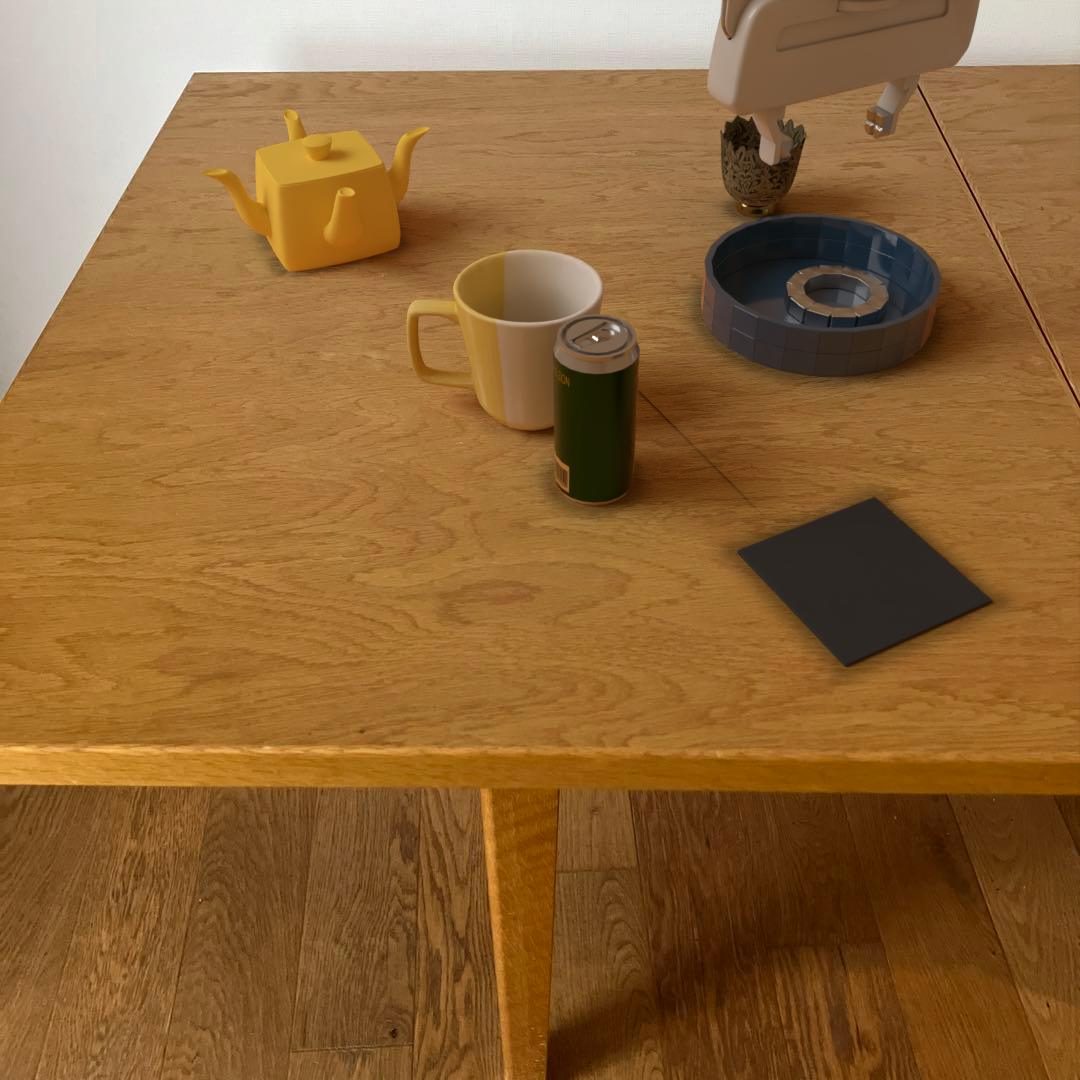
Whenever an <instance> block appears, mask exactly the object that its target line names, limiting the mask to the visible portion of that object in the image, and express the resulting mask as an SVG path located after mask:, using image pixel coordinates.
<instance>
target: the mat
mask: <svg viewBox="0 0 1080 1080" xmlns="http://www.w3.org/2000/svg"><path fill="white" fill-rule="evenodd" d="M736 553H737V555H739V557H740V558H741V559H742V560H743V561H744V562H745V563H746V564H747V565H748V566H749V567H750V569H752V571H753V572H755V574H756V575H757V576H758V577H759V578H760V579H761V580H762V581H763V582H764V583H765V585H767V586H768V587H769V588H770V589H771V590H772V591H773V593H774V594H775V595H776V596H777V597H778V598H779V599H780V600H781V601H782V602H783V603H784V604H785V605H786V606H787V608H788V609H789V610H791V612H792V613H793V614H794V615H795V616H796V617H797V618H798V619H799V620H800V621H801V622H802V623H803V624H804V625H805V626H806V627H807V628H808V630H809V631H810V632H811V633H812V634H813V635H814V636H815V637H816V638H817V639H818V640H819V641H820V642H821V643H822V644H823V645H824V646H825V648H826V649H827V650H828V651H829V652H830V653H831V654H832V655H833V656H834V657H835V658H836V659H837V660H838V662H839V663H840V664H842V665H843V667H844V668H847V667H850V666H852V665H854V664H857V663H859V662H861V661H863V660H865V659H868V658H870V657H872V656H875V655H877V654H880V653H881V652H884V651H886V650H889V649H890V648H893V647H895V646H897V645H899V644H902V643H904V642H906V641H909V640H911V639H912V638H915V637H918V636H920V635H923V634H924V633H927V632H928V631H931V630H933V629H935V628H938V627H941V626H942V625H945V624H948V623H949V622H951V621H953V620H954V621H955V620H956V619H958V618H960V617H963V616H965V615H967V614H970V613H972V612H974V611H976V610H979V609H981V608H983V607H985V606H988V605H990V604H991V603H992V601H993V600H992V599H991V598H990V597H989V596H988V595H987V594H985V593H984V591H982V590H981V589H980V588H979V587H978V586H977V585H976V584H974V583H973V582H972V581H971V580H970V579H969V578H967V577H966V576H965V575H964V574H963V573H962V572H961V571H959V570H958V569H957V568H956V567H955V566H953V564H951V562H949V561H948V560H947V559H946V558H945V557H944V556H943V555H941V553H939V552H938V551H937V550H935V548H934V547H932V546H931V545H930V544H929V543H928V542H926V541H925V539H924V538H922V537H921V536H920V535H919V534H918V533H916V532H915V531H914V530H913V529H912V528H911V527H910V526H909V525H907V523H905V522H904V521H903V520H902V519H901V518H899V517H898V516H897V515H896V514H895V513H894V512H893V511H892V510H891V509H889V508H888V507H887V506H886V505H885V504H884V503H882V501H880V500H879V499H878V498H877V497H874V496H873V497H871V498H868V499H866V500H864V501H861V502H858V503H855V504H853V505H851V506H847V507H845V508H843V509H840V510H838V511H835V512H833V513H830V514H827V515H824V516H822V517H819V518H817V519H814V520H812V521H809V522H807V523H804V524H800V525H799V526H796V527H794V528H791V529H788V530H786V531H783V532H780V533H778V534H776V535H773V536H770V537H768V538H765V539H762V540H760V541H757V542H755V543H753V544H750V545H747V546H744V547H742V548H738V549H737V551H736Z"/></svg>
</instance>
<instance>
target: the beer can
mask: <svg viewBox="0 0 1080 1080" xmlns="http://www.w3.org/2000/svg"><path fill="white" fill-rule="evenodd" d="M637 339H638V336H637V332H636V329H635V327H633V326H632V324H630V323H629V322H628V321H626V320H624V319H622V318H621V317H617V316H613V315H610V314H602V313H600V314H592V315H583V316H579V317H576V318H573V319H571V320H569V321H567V322H565V323H564V324H563V325H562V326H561V327H560V328H559V330H558V333H557V340H556V342H555V345H554V349H553V378H554V426H553V446H554V447H553V461H554V463H553V464H554V466H553V469H554V475H553V476H554V481H555V485H556V487H557V488H558V490H559V491H560V493H561V494H562V495H563V496H564V497H565V498H567V499H568V500H570V501H572V502H575V503H578V504H580V505H586V506H594V507H595V506H605V505H608V504H611V503H614V502H617V501H619V500H621V499H622V498H623V497H625V496H626V495H627V493H628V492H629V490H630V489H631V487H632V486H633V482H634V478H635V463H636V462H635V459H636V442H637V441H636V439H637V418H638V417H637V416H638V398H639V396H638V395H639V379H640V377H639V375H640V358H641V357H640V355H641V348H640V345H639V343H638V340H637Z"/></svg>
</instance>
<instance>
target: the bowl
mask: <svg viewBox="0 0 1080 1080" xmlns="http://www.w3.org/2000/svg"><path fill="white" fill-rule="evenodd" d="M820 265H842V267H843V268H844V267H845V266H848V267H851V268H855V269H859V270H862V271H866V274H867V273H870V274H872V275H873V276H875V277H876V278H878V279H879V280H880V281H882V282H883V283H884V285H886V288H887V291H888V295H889V301H888V306H887V311H886V314H885V315H884V316H883V318H882V319H881V320H880V321H879V323H878V324H876V325H869V326H861V327H854V328H823V327H815V326H808V325H805V322H803V323H801V322H800V321H799V320H797V319H796V318H795V317H794V316H792V315H791V314H790V313H788V311H787V310H786V305H785V300H784V295H785V288H786V284H787V281H788V280H789V279H790V278H791V277H792V276H793V275H794V274H795V273H796V272H797V273H798V271H800V270H803V269H806V268H810V267H813V266H818V267H819V266H820ZM942 282H943V275H942V274H941V271H940V269H939V267H938V264H937V262H936V260H934V258H933V257H932V256H931V255H930V254H929V253H928V252H927V251H926V250H925V249H924V247H922V246H921V245H920V244H918V243H917V242H915V241H913V240H912V239H910V238H909V237H907V236H906V235H904V234H902V233H900V232H898V231H895V230H892V229H890V228H888V227H885V226H882V225H880V224H876V223H874V222H869V221H866V220H861V219H857V218H853V217H849V216H842V215H841V216H840V215H833V214H827V213H788V214H780V215H770V216H766V217H760V218H758V219H754V220H751V221H747V222H744V223H741V224H739V225H738V226H735V227H734V228H732V229H729V230H728V231H726V232H724V233H722V234H721V235H720V236H719V237H718V238H717V239H716V240H715V241H714V242H713V243H712V244H710V246H709V249H708V251H707V253H706V256H705V257H704V260H703V271H702V283H701V295H700V310H701V317H702V320H703V322H704V323H705V325H706V328H707V329H708V331H710V334H711V335H713V336H714V337H715V338H716V340H718V341H719V342H720V343H721V344H722V345H724V346H725V347H726V348H727V349H729V350H730V351H731V352H734V353H735V354H737V355H738V356H740V357H743V358H745V359H746V360H749V361H751V362H753V363H756V364H759V365H762V366H763V367H767V368H770V369H773V370H774V369H775V370H778V371H781V372H787V373H792V374H796V375H804V376H812V377H829V378H831V377H834V378H835V377H852V376H860V375H866V374H871V373H877V372H879V371H883V370H887V369H889V368H892V367H895V366H897V365H899V364H902V363H903V362H906V361H907V360H909V359H910V358H912V357H913V356H914V355H915V354H917V353H918V352H919V351H921V349H922V348H923V347H924V346H925V344H926V342H927V341H928V339H929V338H930V336H931V334H932V328H933V325H934V319H935V317H936V313H937V307H938V303H939V299H940V295H941V290H942ZM806 295H807V296H808V297H809V298H811V299H812V300H813V301H815V302H816V303H819V304H823V305H826V306H830V307H833V308H851V307H854V306H858V305H861V304H864V303H866V300H864V299H863V298H862V297H860V296H859V295H857V294H856V293H854V292H851V291H847V290H844V289H840V288H821V289H817V290H814V291H811V292H808V293H807V294H806Z"/></svg>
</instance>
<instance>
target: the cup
mask: <svg viewBox="0 0 1080 1080" xmlns="http://www.w3.org/2000/svg"><path fill="white" fill-rule="evenodd" d="M777 123H778V126H779V129H780V132H782V133H784V135H786V136H788V137H790V138H791V139H793V142H792V149H791V150H790V154H791V156H790V159H789V161H786V162H783V163H779V164H775V165H768V164H767V163H765V162H764V161H762V160H761V158H760V155H759V150H760V141H761V134H760V133H759V131H758V129H757V127H756V124H755V122H754V120H753V118H752V116H751V115H750V117H749V120H747V119H746V118H745V117H743V116H738V115H736V116H734V117H733V119H732V120H731V121H729V120H726V121H725V122H724V125H723V126H724V129H723V130H724V131H723V130H722V129H720V132H719V134H720V162H721V164H720V166H721V175H722V182H723V184H724V188H725V190H726V192H727V194H728V195H729V196H730V197H731V198H732V199H733V200H735V201H734V209H735V211H736V213H738V214H739V215H741V216H743V217H747V218H752V219H753V218H754V219H755V218H758V219H761V218H765V217H770V216H771V215H772V214H773V213H774V211H775V210H776V203H778V202H780V201H781V200H782V199H784V198H785V197H786V195H788V193H789V192H790V190H791V188H792V186H793V185H794V182H795V178H796V176H797V173H798V169H799V165H800V161H801V157H802V153H803V149H804V145H805V141H806V139H807V132H805V127H804V124H803V123H801V124H799V125H797V126H796V127H795V123H794V121H793V118H790V119H788V120H787V121H786V122H785V123H784V119H783V120H779V121H778V120H777Z"/></svg>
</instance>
